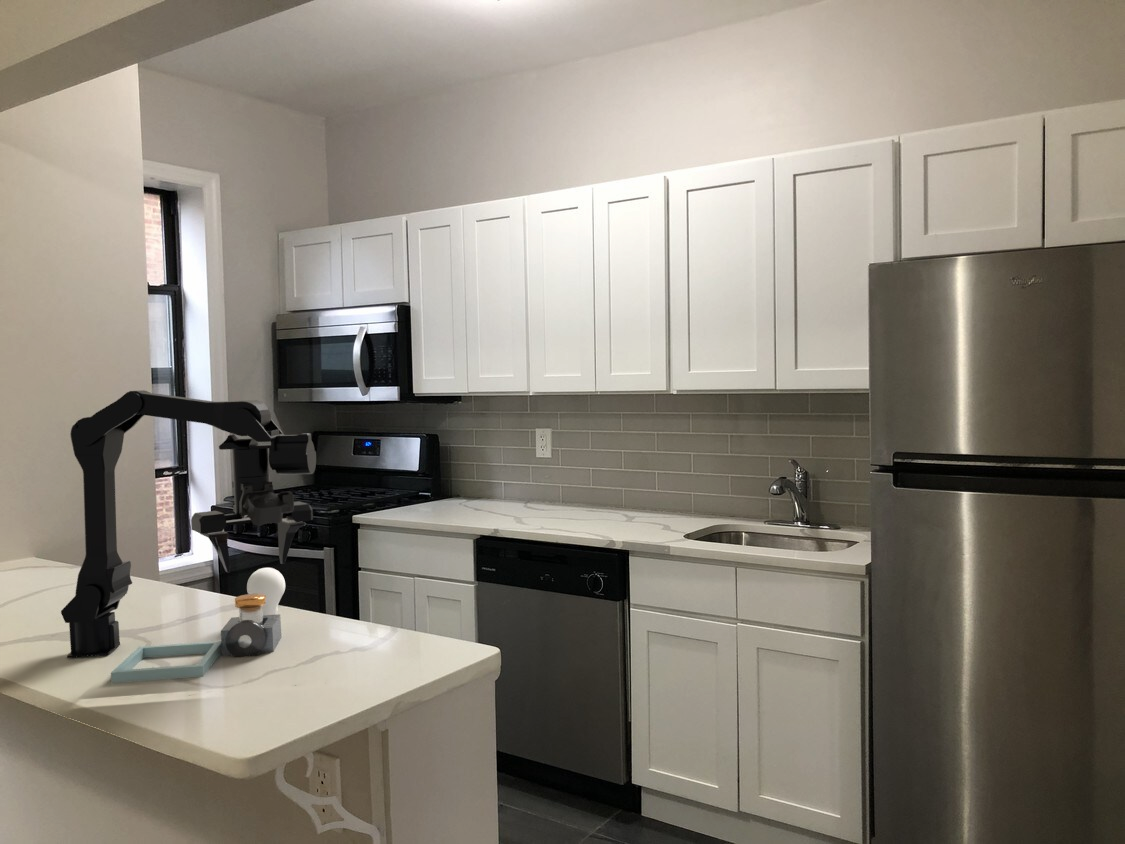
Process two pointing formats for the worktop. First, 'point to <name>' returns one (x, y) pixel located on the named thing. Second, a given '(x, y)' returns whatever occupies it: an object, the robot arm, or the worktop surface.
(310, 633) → the worktop surface
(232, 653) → the block
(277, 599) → the light bulb
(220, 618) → the worktop surface
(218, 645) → the tray
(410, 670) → the worktop surface
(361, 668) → the worktop surface
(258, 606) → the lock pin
